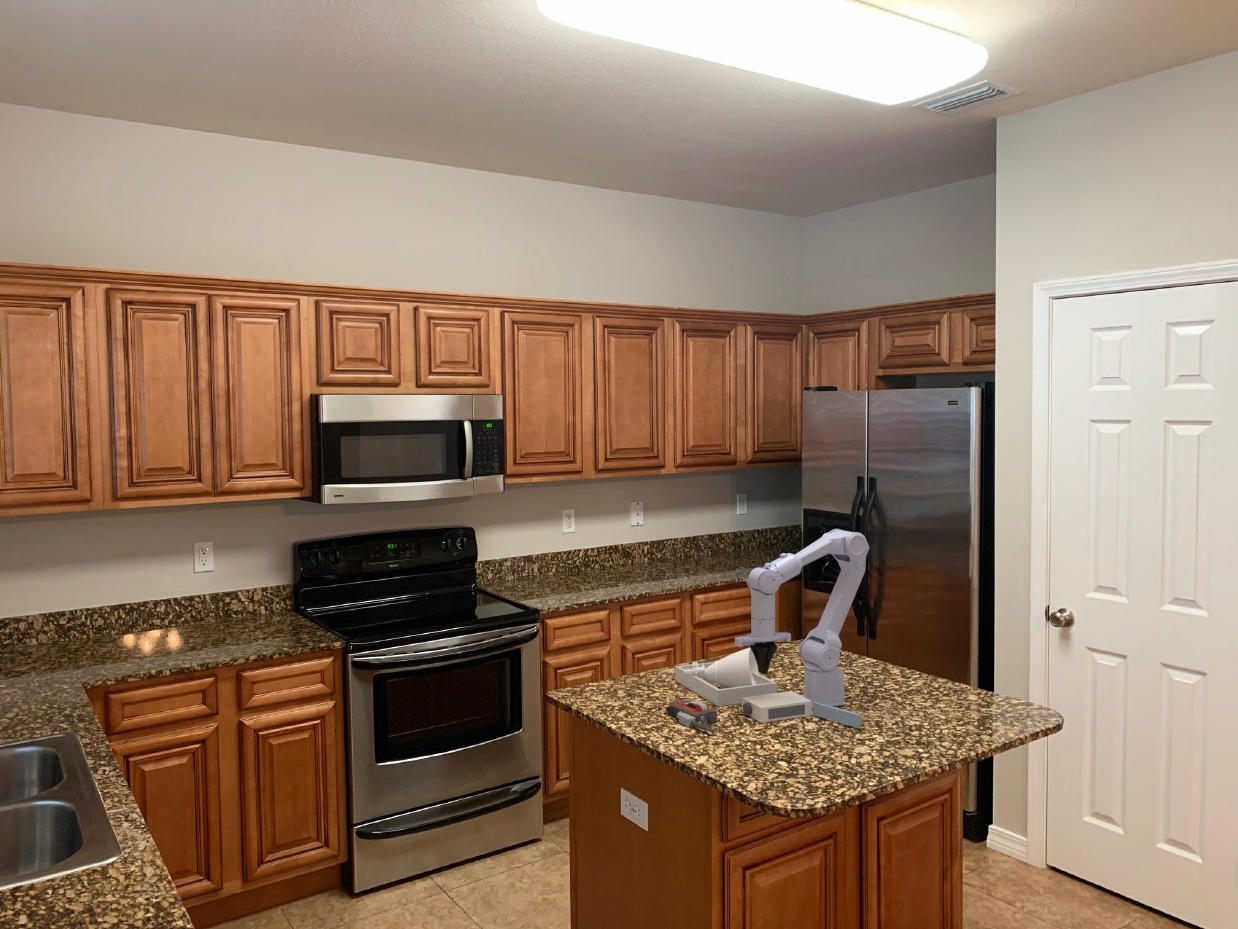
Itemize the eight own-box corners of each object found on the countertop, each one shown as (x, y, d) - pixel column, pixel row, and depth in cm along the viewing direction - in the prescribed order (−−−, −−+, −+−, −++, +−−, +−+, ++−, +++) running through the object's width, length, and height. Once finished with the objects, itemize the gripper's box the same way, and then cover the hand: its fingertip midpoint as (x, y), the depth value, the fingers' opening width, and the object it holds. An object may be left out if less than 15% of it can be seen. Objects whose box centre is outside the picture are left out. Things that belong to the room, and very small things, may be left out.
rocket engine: (682, 645, 248) (748, 639, 243) (693, 667, 256) (758, 661, 251) (680, 684, 240) (748, 679, 235) (691, 705, 248) (758, 700, 243)
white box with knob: (791, 704, 233) (791, 691, 233) (811, 715, 224) (812, 701, 224) (738, 712, 227) (738, 698, 227) (757, 723, 219) (757, 708, 219)
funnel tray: (730, 674, 261) (730, 660, 261) (777, 698, 238) (777, 683, 238) (675, 680, 255) (675, 666, 255) (717, 706, 232) (717, 690, 232)
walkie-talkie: (657, 715, 226) (709, 738, 210) (657, 697, 226) (709, 719, 210) (686, 709, 231) (739, 731, 215) (686, 691, 231) (739, 712, 214)
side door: (812, 714, 224) (812, 702, 223) (817, 713, 225) (817, 701, 224) (859, 728, 213) (859, 715, 213) (863, 727, 214) (863, 714, 214)
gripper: (780, 612, 233) (780, 665, 234) (728, 617, 228) (728, 672, 229) (795, 617, 227) (795, 672, 227) (742, 622, 221) (743, 679, 222)
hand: (763, 673), depth 228 cm, fingers closed
